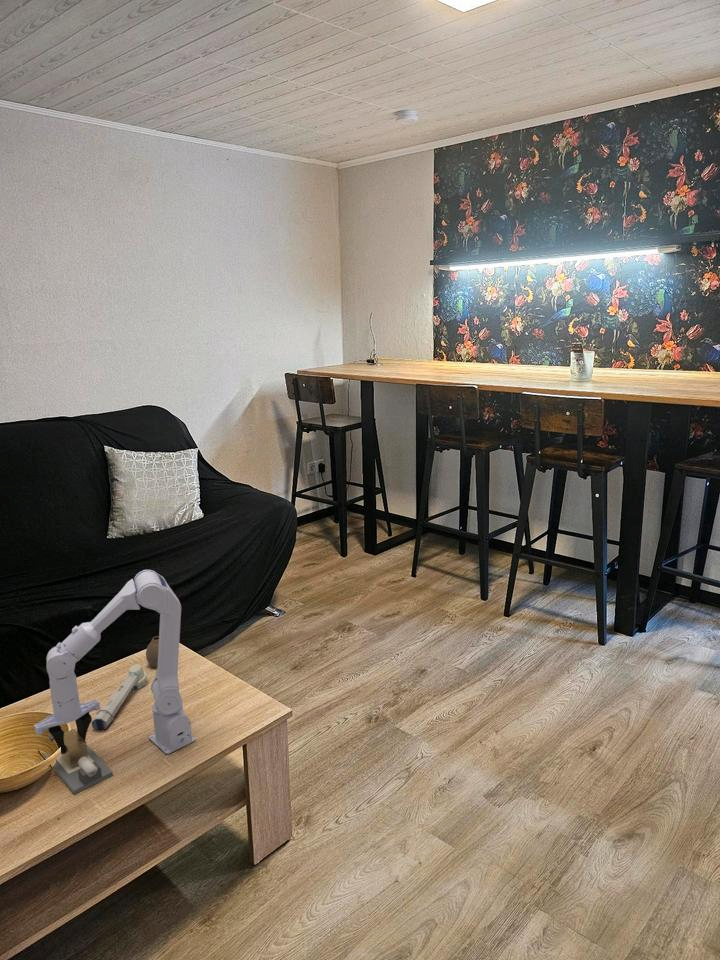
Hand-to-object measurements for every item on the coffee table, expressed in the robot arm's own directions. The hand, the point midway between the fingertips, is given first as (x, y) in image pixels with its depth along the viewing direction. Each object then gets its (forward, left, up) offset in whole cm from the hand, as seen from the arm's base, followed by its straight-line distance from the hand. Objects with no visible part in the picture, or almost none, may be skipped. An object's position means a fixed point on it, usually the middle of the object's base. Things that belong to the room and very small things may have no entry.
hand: (72, 747), depth 160 cm
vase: (+28, -37, -4) cm, 47 cm away
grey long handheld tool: (+16, -19, -5) cm, 25 cm away
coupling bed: (0, 0, -4) cm, 4 cm away
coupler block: (0, 0, -2) cm, 3 cm away
